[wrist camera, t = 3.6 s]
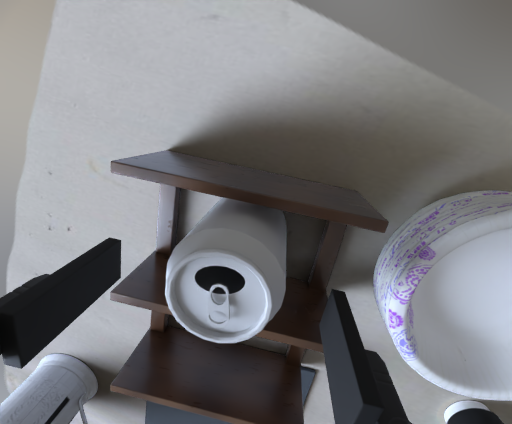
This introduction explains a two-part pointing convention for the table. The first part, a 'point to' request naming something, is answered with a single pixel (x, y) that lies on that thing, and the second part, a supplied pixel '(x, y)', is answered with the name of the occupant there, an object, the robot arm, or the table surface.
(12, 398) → the glass holder
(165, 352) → the rack
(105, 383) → the table surface
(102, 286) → the robot arm
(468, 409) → the dixie cup
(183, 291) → the can
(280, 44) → the table surface
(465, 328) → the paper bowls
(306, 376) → the mat
